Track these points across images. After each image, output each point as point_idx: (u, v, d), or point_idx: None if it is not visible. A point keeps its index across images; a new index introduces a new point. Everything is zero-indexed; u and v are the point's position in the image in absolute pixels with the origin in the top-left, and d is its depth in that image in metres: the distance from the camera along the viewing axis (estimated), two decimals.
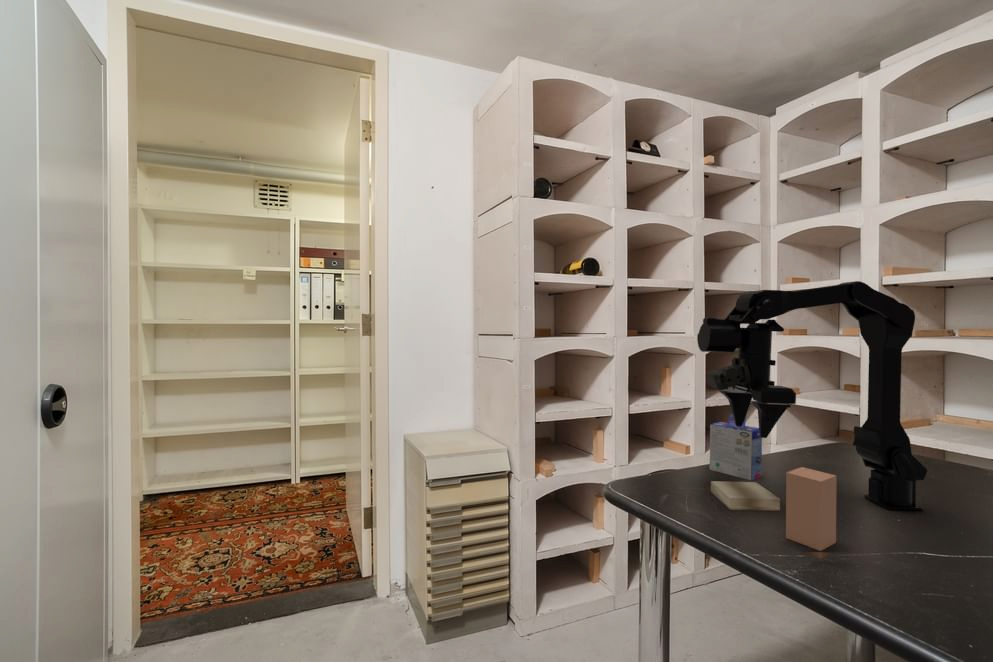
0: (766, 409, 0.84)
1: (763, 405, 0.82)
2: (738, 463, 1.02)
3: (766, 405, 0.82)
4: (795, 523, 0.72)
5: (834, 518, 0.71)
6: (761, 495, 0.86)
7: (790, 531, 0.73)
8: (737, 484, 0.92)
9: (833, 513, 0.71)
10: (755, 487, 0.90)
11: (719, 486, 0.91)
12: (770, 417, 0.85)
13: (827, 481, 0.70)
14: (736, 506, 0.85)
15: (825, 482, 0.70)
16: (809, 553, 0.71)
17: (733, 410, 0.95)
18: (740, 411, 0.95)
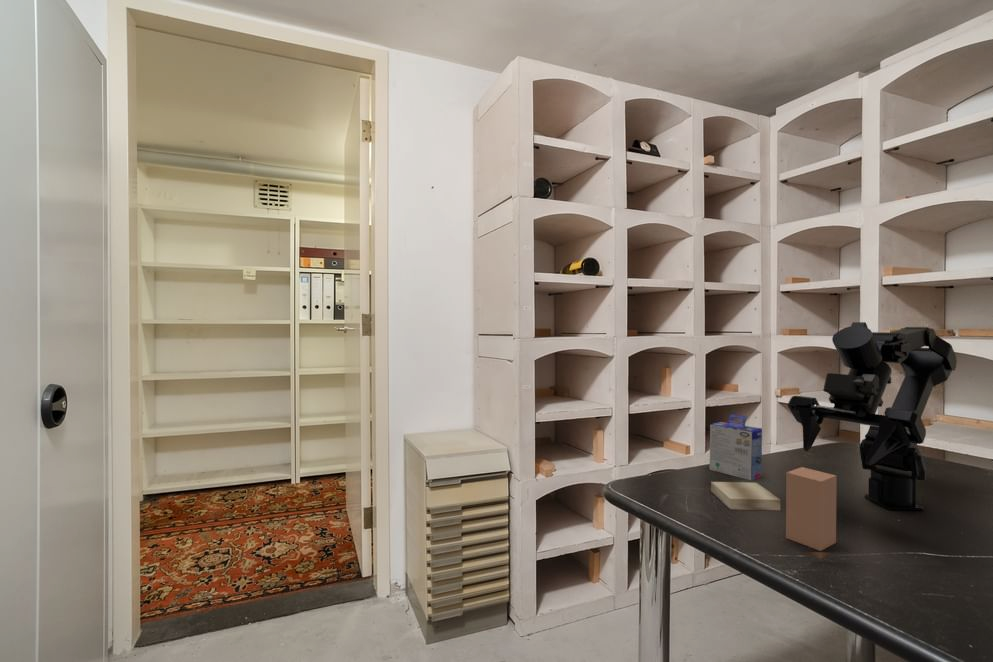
0: None
1: (903, 426, 0.72)
2: (738, 463, 1.02)
3: (904, 428, 0.72)
4: (795, 523, 0.72)
5: (834, 518, 0.71)
6: (761, 496, 0.86)
7: (790, 531, 0.73)
8: (737, 485, 0.92)
9: (833, 513, 0.71)
10: (756, 487, 0.90)
11: (720, 486, 0.91)
12: (885, 446, 0.74)
13: (827, 481, 0.70)
14: (736, 507, 0.85)
15: (825, 482, 0.70)
16: (809, 553, 0.71)
17: (807, 431, 0.82)
18: (811, 436, 0.82)
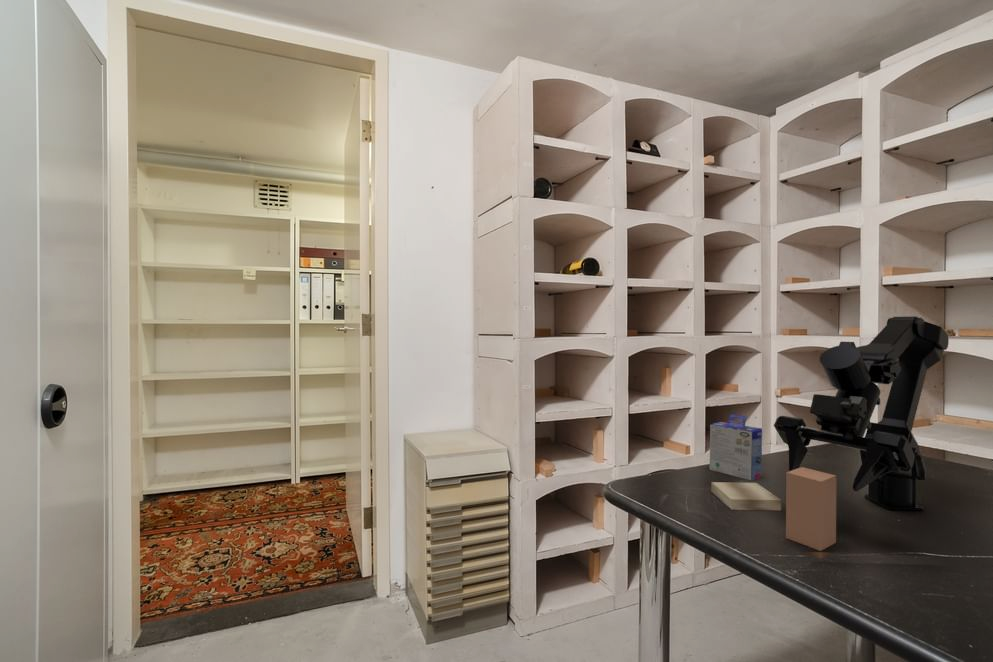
0: None
1: (891, 452, 0.69)
2: (738, 463, 1.02)
3: (892, 454, 0.69)
4: (795, 523, 0.72)
5: (834, 518, 0.71)
6: (762, 496, 0.86)
7: (790, 531, 0.73)
8: (738, 485, 0.91)
9: (833, 513, 0.71)
10: (756, 488, 0.90)
11: (720, 487, 0.91)
12: (872, 471, 0.71)
13: (827, 481, 0.70)
14: (737, 507, 0.85)
15: (825, 482, 0.70)
16: (809, 553, 0.71)
17: (793, 453, 0.79)
18: (798, 459, 0.79)
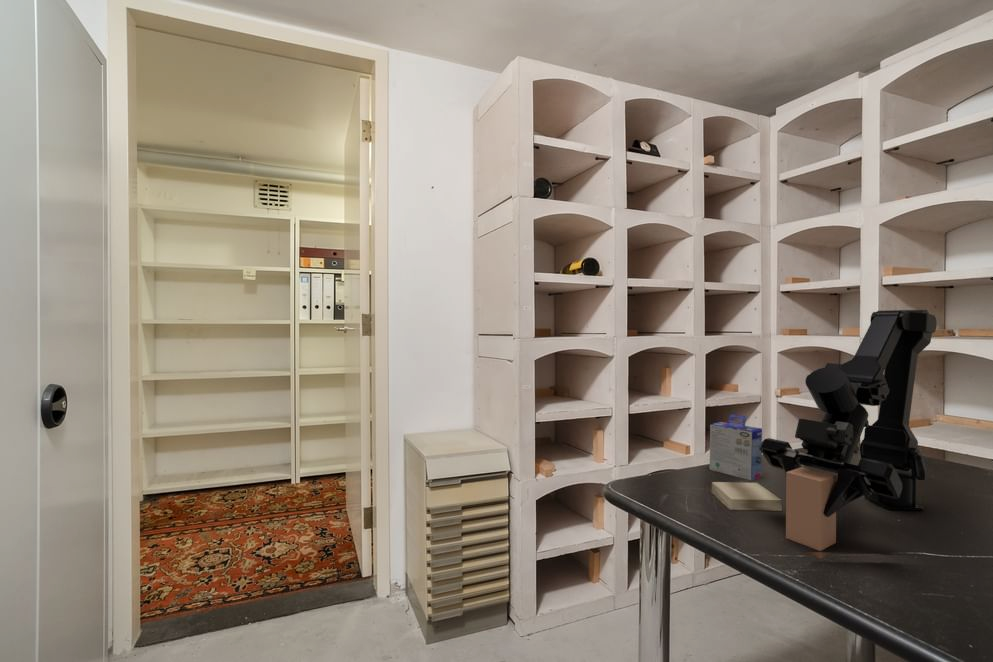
0: None
1: (861, 477, 0.68)
2: (738, 463, 1.02)
3: (863, 479, 0.68)
4: (795, 523, 0.72)
5: (834, 518, 0.71)
6: (762, 496, 0.85)
7: (790, 531, 0.73)
8: (738, 485, 0.91)
9: None
10: (757, 488, 0.90)
11: (721, 487, 0.91)
12: (844, 496, 0.70)
13: (827, 481, 0.70)
14: (738, 507, 0.84)
15: (825, 482, 0.70)
16: (809, 553, 0.71)
17: None
18: None
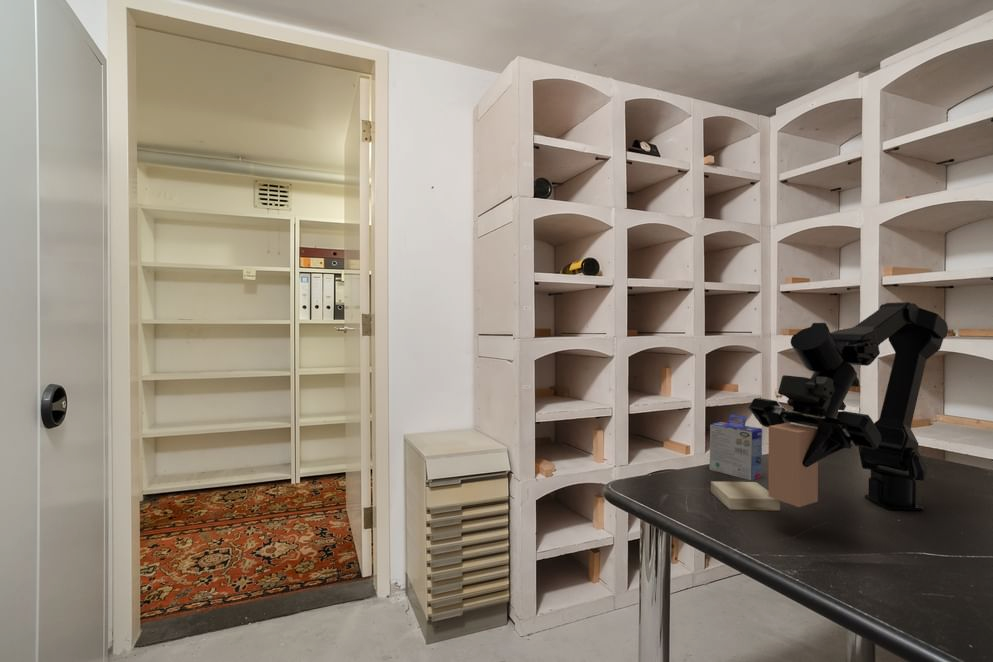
0: None
1: (839, 428, 0.71)
2: (738, 463, 1.02)
3: (841, 430, 0.71)
4: (777, 474, 0.75)
5: (815, 470, 0.74)
6: (761, 496, 0.86)
7: (772, 482, 0.76)
8: (737, 485, 0.91)
9: (814, 465, 0.74)
10: (755, 487, 0.90)
11: (719, 486, 0.91)
12: (824, 448, 0.73)
13: (806, 433, 0.73)
14: (736, 507, 0.85)
15: (803, 434, 0.73)
16: (789, 502, 0.74)
17: None
18: None
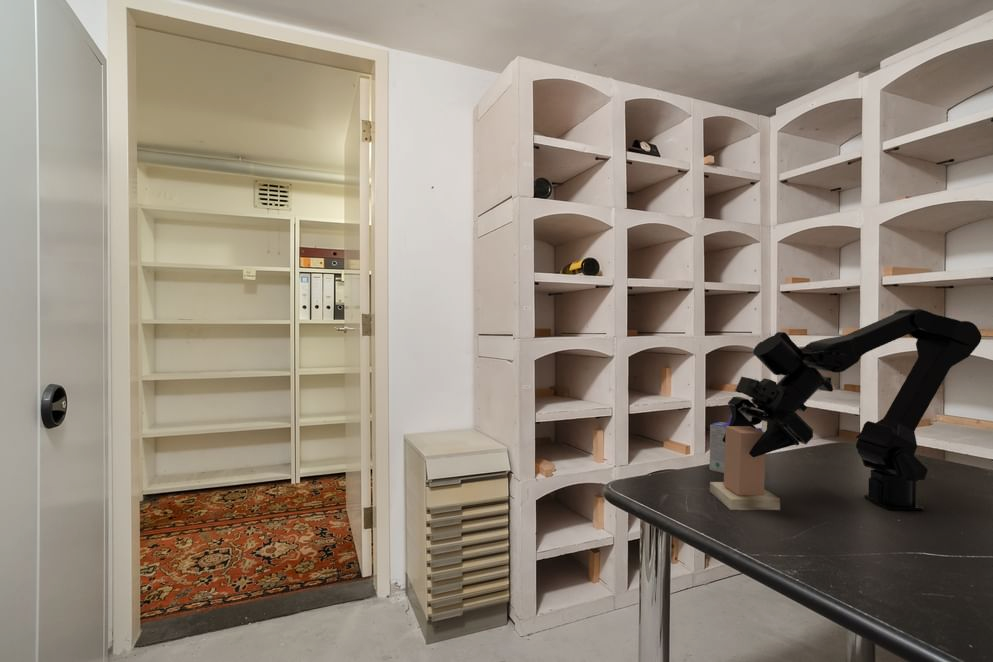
0: (774, 434, 0.83)
1: (779, 425, 0.81)
2: None
3: (782, 427, 0.81)
4: (728, 467, 0.89)
5: (762, 467, 0.86)
6: (761, 496, 0.86)
7: (726, 474, 0.90)
8: None
9: (761, 463, 0.86)
10: None
11: (719, 487, 0.91)
12: (772, 443, 0.83)
13: (751, 434, 0.86)
14: (737, 507, 0.85)
15: (747, 435, 0.85)
16: (733, 491, 0.87)
17: None
18: None
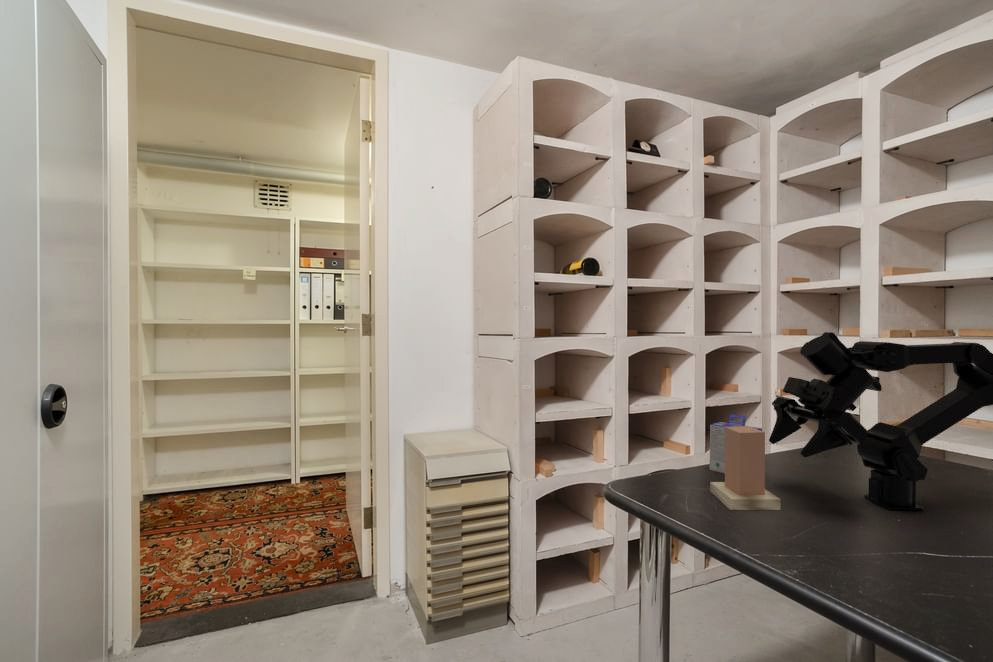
0: (826, 434, 0.83)
1: (833, 425, 0.81)
2: None
3: (835, 427, 0.81)
4: (729, 467, 0.90)
5: (762, 467, 0.86)
6: (761, 496, 0.86)
7: (726, 474, 0.91)
8: None
9: (760, 462, 0.86)
10: None
11: (719, 487, 0.91)
12: (824, 443, 0.83)
13: (749, 434, 0.86)
14: (738, 507, 0.85)
15: (745, 434, 0.86)
16: (734, 491, 0.88)
17: (777, 427, 0.94)
18: (781, 432, 0.94)
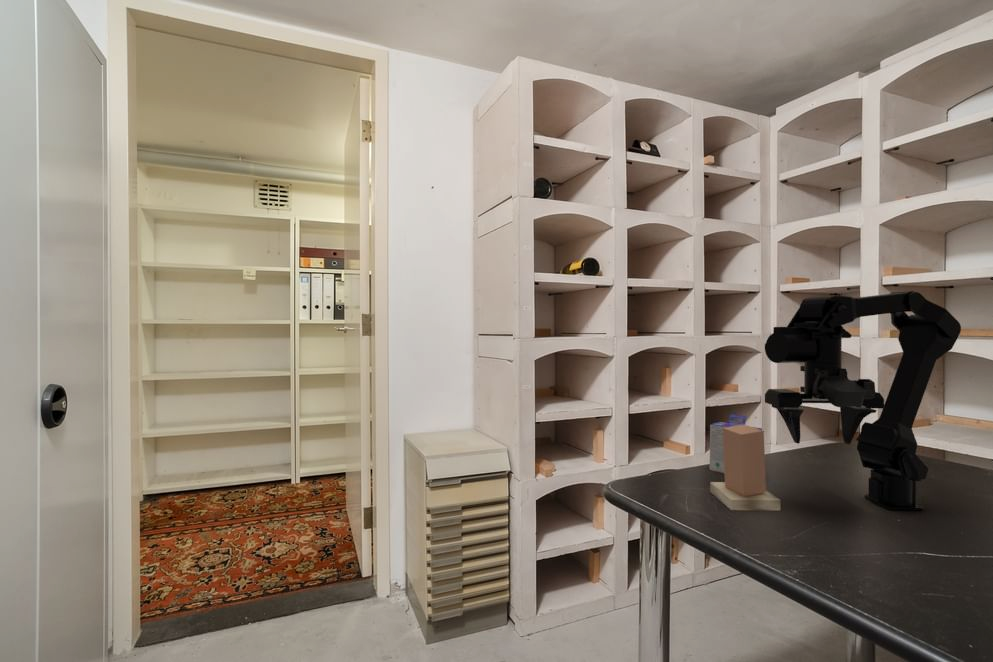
0: None
1: None
2: None
3: None
4: (729, 468, 0.89)
5: (762, 465, 0.86)
6: (761, 497, 0.86)
7: (726, 475, 0.90)
8: None
9: (761, 461, 0.86)
10: None
11: (719, 487, 0.91)
12: None
13: (750, 434, 0.85)
14: (737, 508, 0.84)
15: (746, 435, 0.85)
16: (737, 492, 0.87)
17: (798, 427, 0.86)
18: None
